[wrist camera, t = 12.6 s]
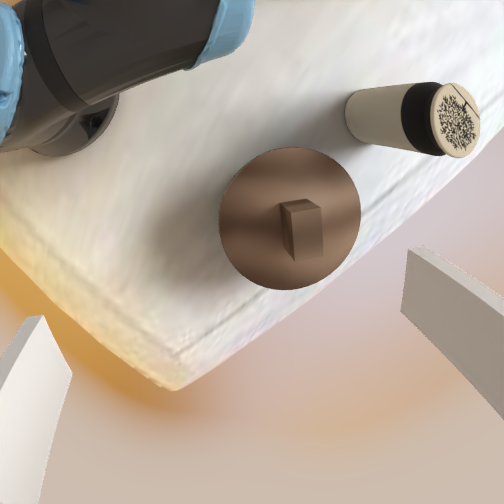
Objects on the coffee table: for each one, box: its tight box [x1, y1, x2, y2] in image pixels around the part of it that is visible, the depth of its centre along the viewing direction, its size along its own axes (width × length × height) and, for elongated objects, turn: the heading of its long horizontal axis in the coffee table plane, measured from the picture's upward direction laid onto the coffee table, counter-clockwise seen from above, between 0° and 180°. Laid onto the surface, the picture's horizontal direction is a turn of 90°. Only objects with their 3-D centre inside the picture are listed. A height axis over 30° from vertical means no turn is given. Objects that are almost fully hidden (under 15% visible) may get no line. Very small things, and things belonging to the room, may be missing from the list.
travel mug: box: [345, 82, 480, 158], centre depth 32 cm, size 8×8×18 cm
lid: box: [219, 147, 361, 290], centre depth 33 cm, size 16×16×5 cm
